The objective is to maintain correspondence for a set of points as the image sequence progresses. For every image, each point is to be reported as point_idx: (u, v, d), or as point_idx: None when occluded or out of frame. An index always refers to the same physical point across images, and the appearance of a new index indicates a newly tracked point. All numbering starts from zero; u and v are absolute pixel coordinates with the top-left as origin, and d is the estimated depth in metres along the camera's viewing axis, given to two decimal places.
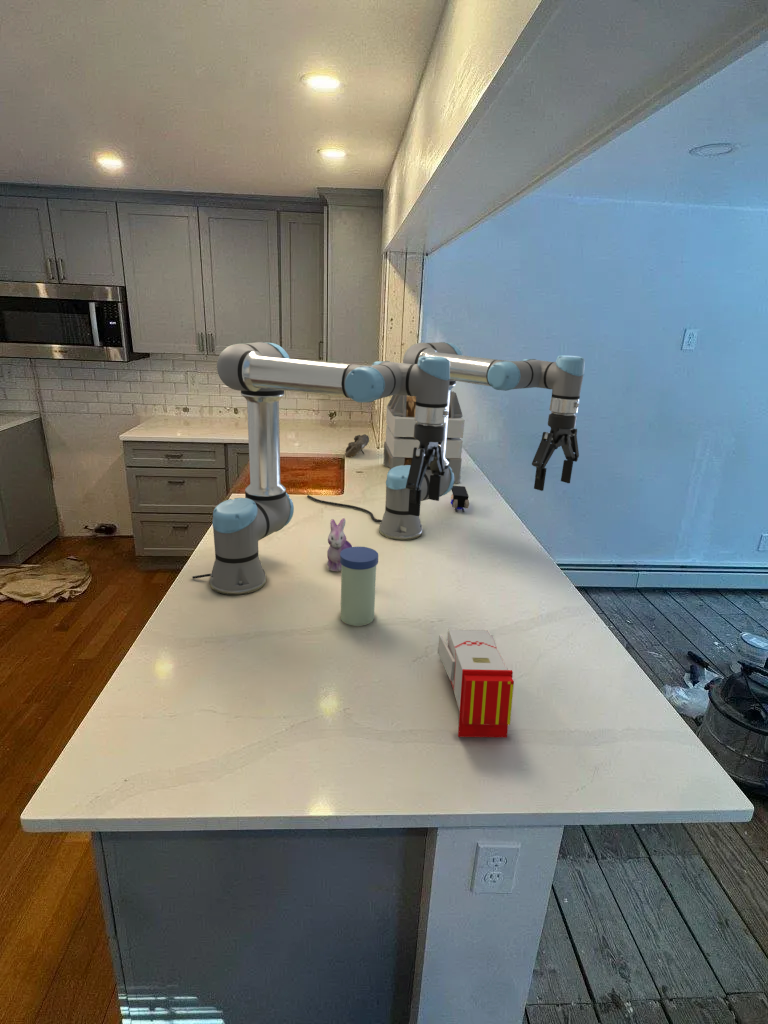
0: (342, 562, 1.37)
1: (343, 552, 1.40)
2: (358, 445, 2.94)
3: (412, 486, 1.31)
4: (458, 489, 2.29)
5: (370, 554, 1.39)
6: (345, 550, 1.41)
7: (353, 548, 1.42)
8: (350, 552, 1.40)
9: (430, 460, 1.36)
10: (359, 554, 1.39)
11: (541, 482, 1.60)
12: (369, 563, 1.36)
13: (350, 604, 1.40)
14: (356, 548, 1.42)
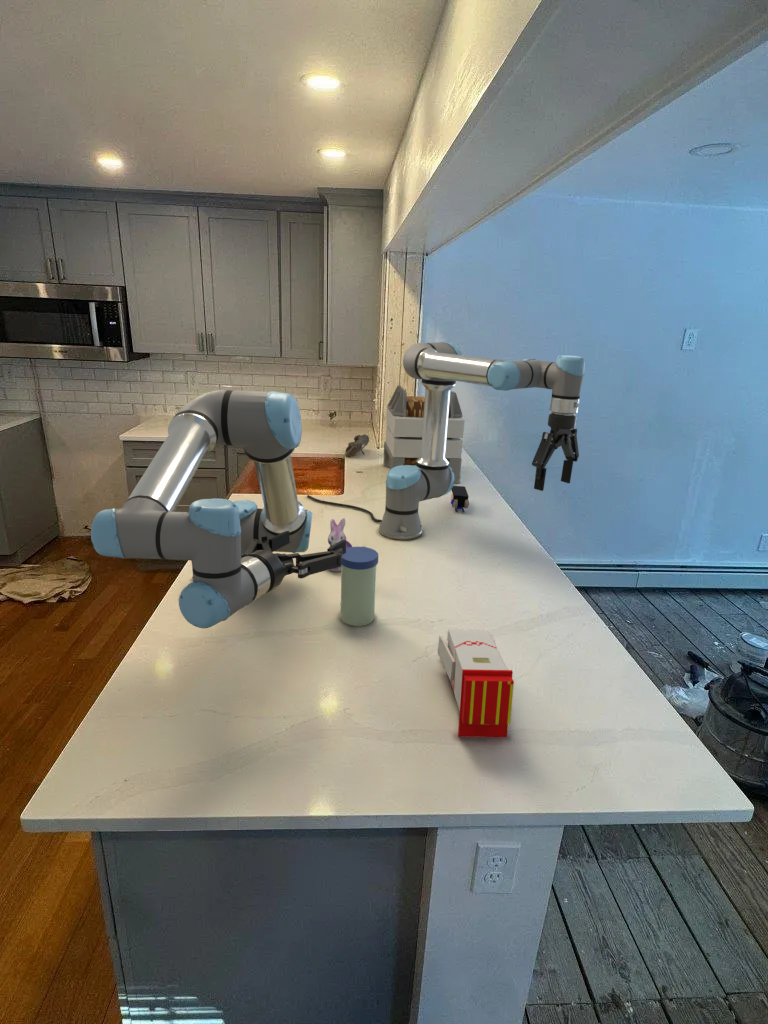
0: (342, 562, 1.37)
1: None
2: (358, 445, 2.94)
3: None
4: (458, 489, 2.29)
5: (370, 554, 1.39)
6: None
7: (353, 548, 1.42)
8: (350, 552, 1.40)
9: None
10: (359, 554, 1.39)
11: (541, 482, 1.60)
12: (369, 563, 1.36)
13: (350, 604, 1.40)
14: (356, 548, 1.42)
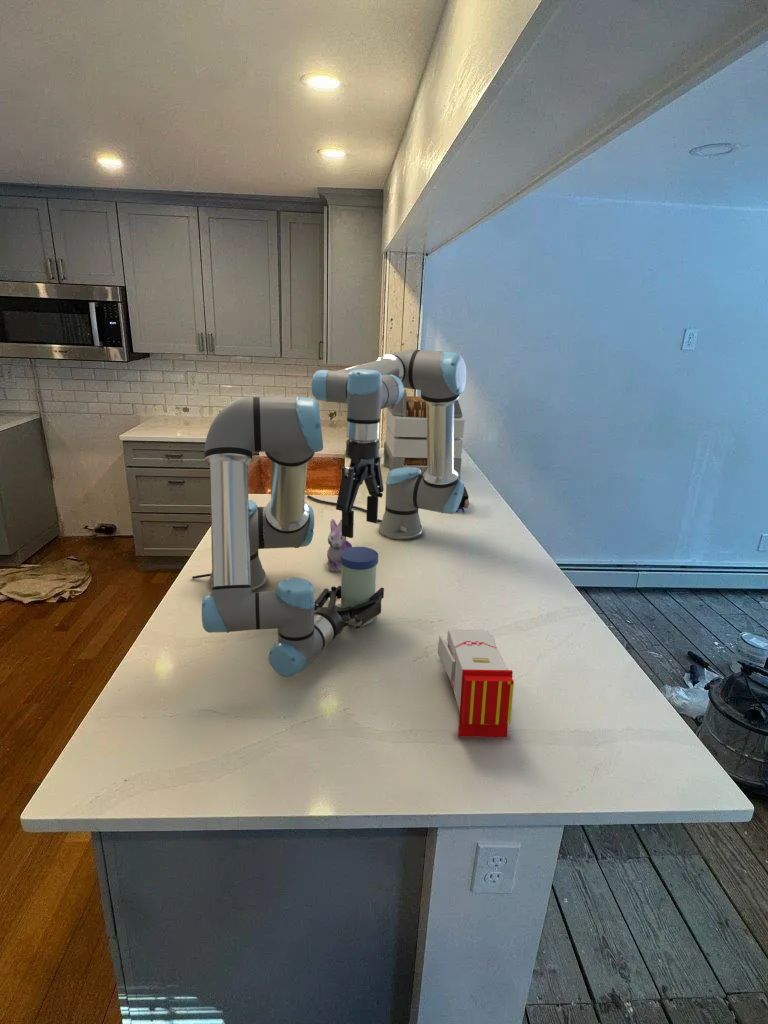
0: (342, 562, 1.37)
1: (343, 552, 1.40)
2: None
3: None
4: None
5: (370, 554, 1.39)
6: (345, 550, 1.41)
7: (353, 548, 1.42)
8: (350, 552, 1.40)
9: None
10: (359, 554, 1.39)
11: None
12: (369, 563, 1.36)
13: (350, 604, 1.40)
14: (356, 548, 1.42)
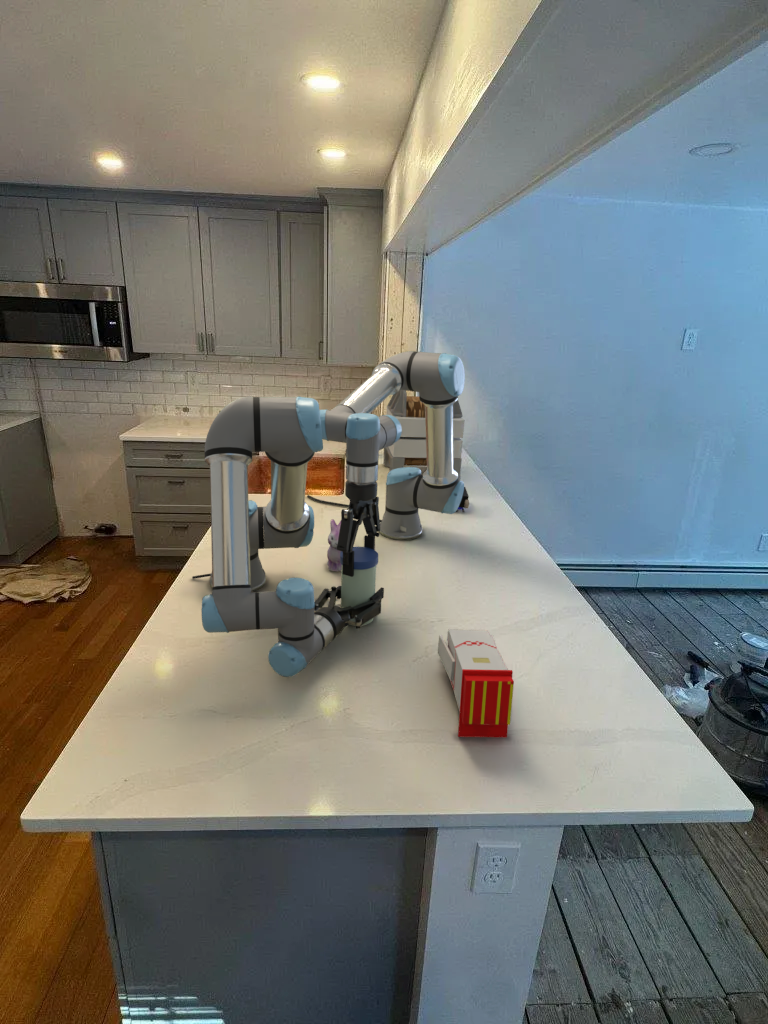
0: (342, 562, 1.37)
1: None
2: None
3: None
4: None
5: (370, 554, 1.39)
6: None
7: (353, 548, 1.42)
8: None
9: None
10: (359, 554, 1.39)
11: None
12: (369, 563, 1.36)
13: (350, 604, 1.40)
14: (356, 548, 1.42)
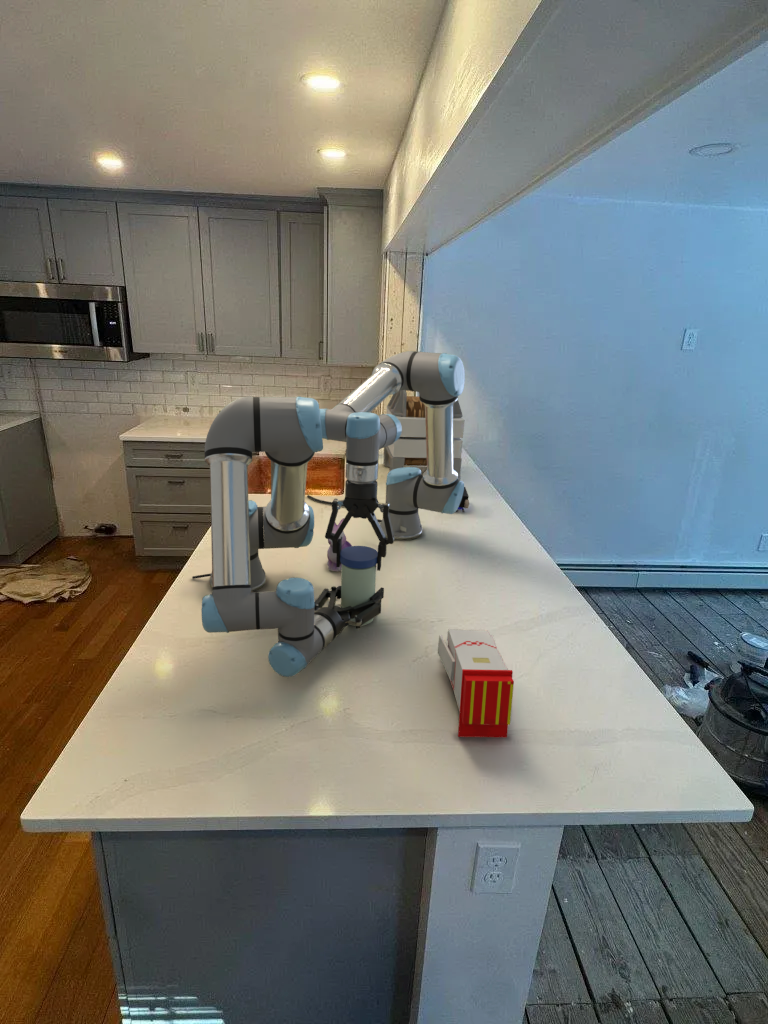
0: (374, 563, 1.37)
1: (362, 559, 1.36)
2: None
3: None
4: None
5: (355, 548, 1.42)
6: (356, 559, 1.35)
7: (349, 557, 1.37)
8: (359, 557, 1.37)
9: None
10: (360, 553, 1.39)
11: (336, 557, 1.39)
12: None
13: (350, 604, 1.40)
14: (347, 556, 1.37)
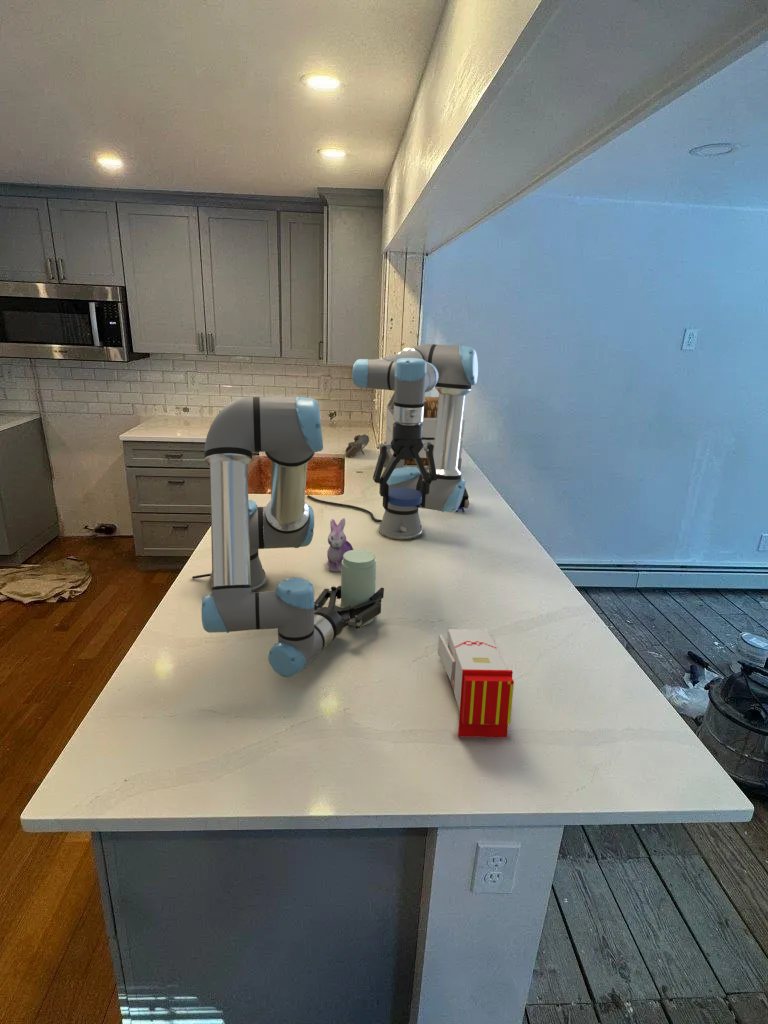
0: (421, 500, 1.48)
1: (413, 498, 1.45)
2: (358, 445, 2.94)
3: None
4: None
5: (397, 490, 1.50)
6: (408, 498, 1.45)
7: (399, 497, 1.45)
8: (408, 496, 1.46)
9: None
10: (404, 493, 1.48)
11: (384, 500, 1.47)
12: None
13: (350, 604, 1.40)
14: (397, 496, 1.46)
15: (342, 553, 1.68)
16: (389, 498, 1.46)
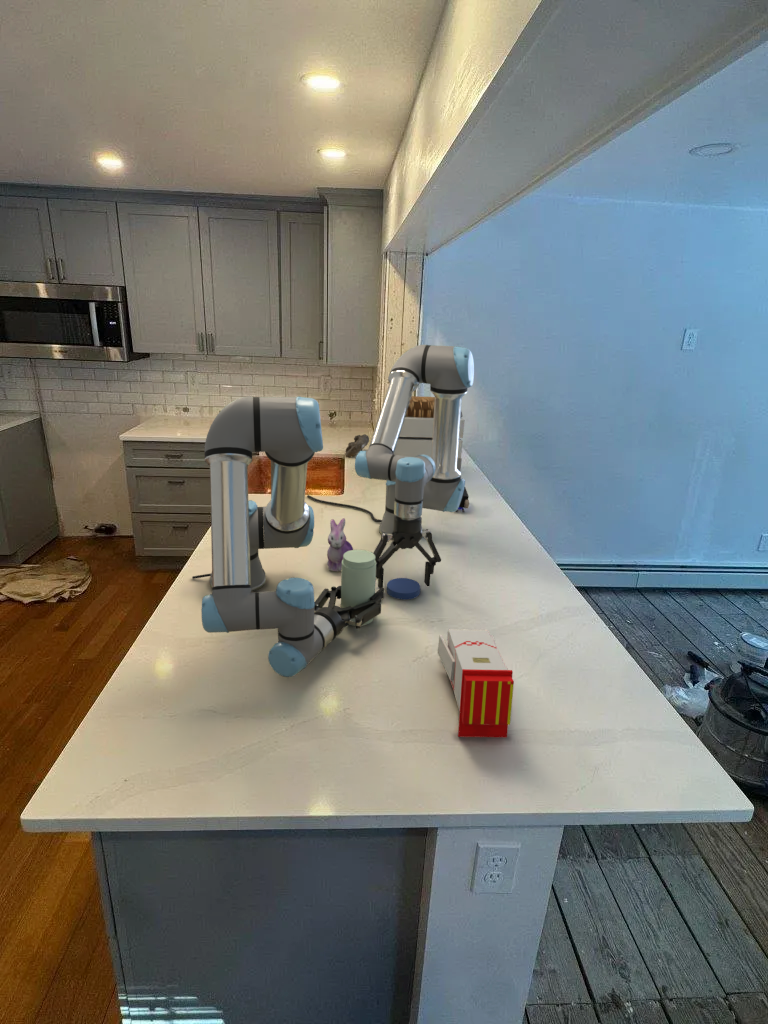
0: (419, 592, 1.58)
1: (412, 591, 1.56)
2: (358, 445, 2.94)
3: None
4: None
5: (396, 581, 1.61)
6: (407, 591, 1.55)
7: (399, 590, 1.56)
8: (407, 589, 1.57)
9: None
10: (403, 585, 1.59)
11: (380, 582, 1.56)
12: None
13: (350, 604, 1.40)
14: (397, 589, 1.56)
15: (342, 553, 1.68)
16: (389, 591, 1.56)
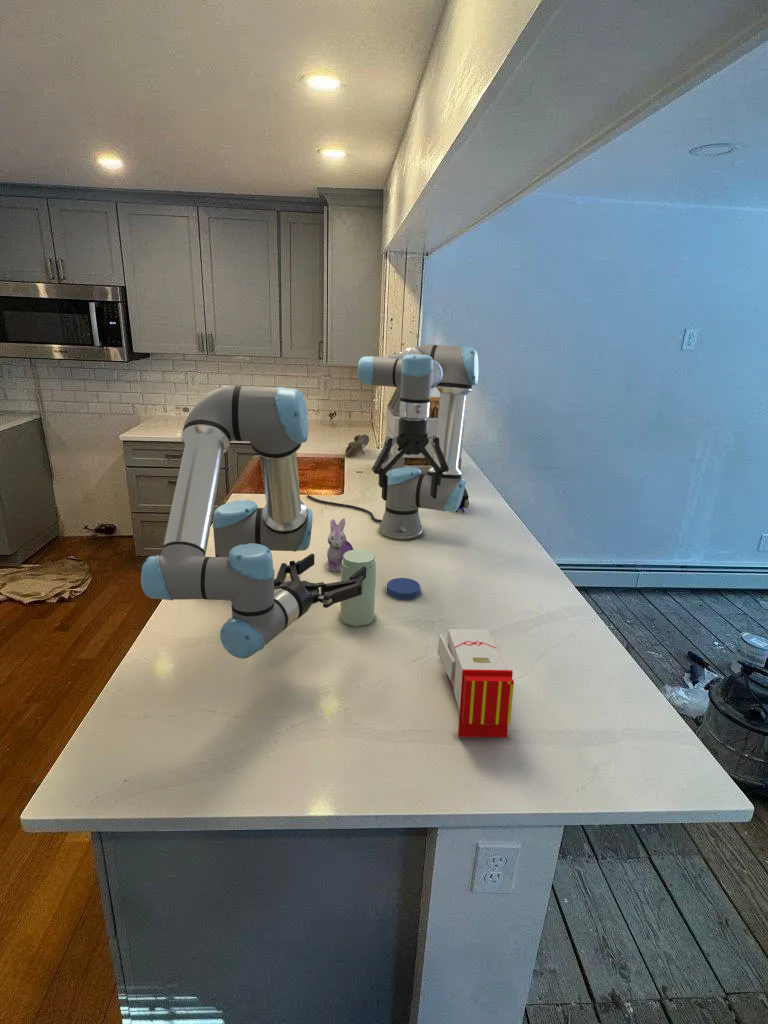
0: (419, 592, 1.58)
1: (412, 591, 1.56)
2: (358, 445, 2.94)
3: None
4: None
5: (396, 581, 1.61)
6: (407, 591, 1.55)
7: (399, 590, 1.56)
8: (407, 589, 1.57)
9: None
10: (403, 585, 1.59)
11: (383, 491, 1.47)
12: None
13: (350, 604, 1.40)
14: (397, 589, 1.56)
15: (342, 553, 1.68)
16: (389, 591, 1.56)
